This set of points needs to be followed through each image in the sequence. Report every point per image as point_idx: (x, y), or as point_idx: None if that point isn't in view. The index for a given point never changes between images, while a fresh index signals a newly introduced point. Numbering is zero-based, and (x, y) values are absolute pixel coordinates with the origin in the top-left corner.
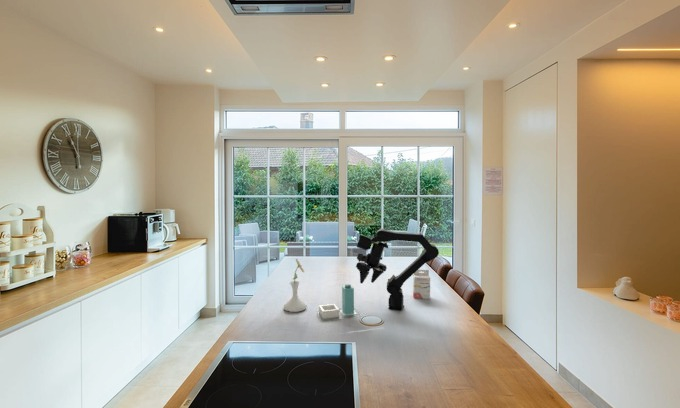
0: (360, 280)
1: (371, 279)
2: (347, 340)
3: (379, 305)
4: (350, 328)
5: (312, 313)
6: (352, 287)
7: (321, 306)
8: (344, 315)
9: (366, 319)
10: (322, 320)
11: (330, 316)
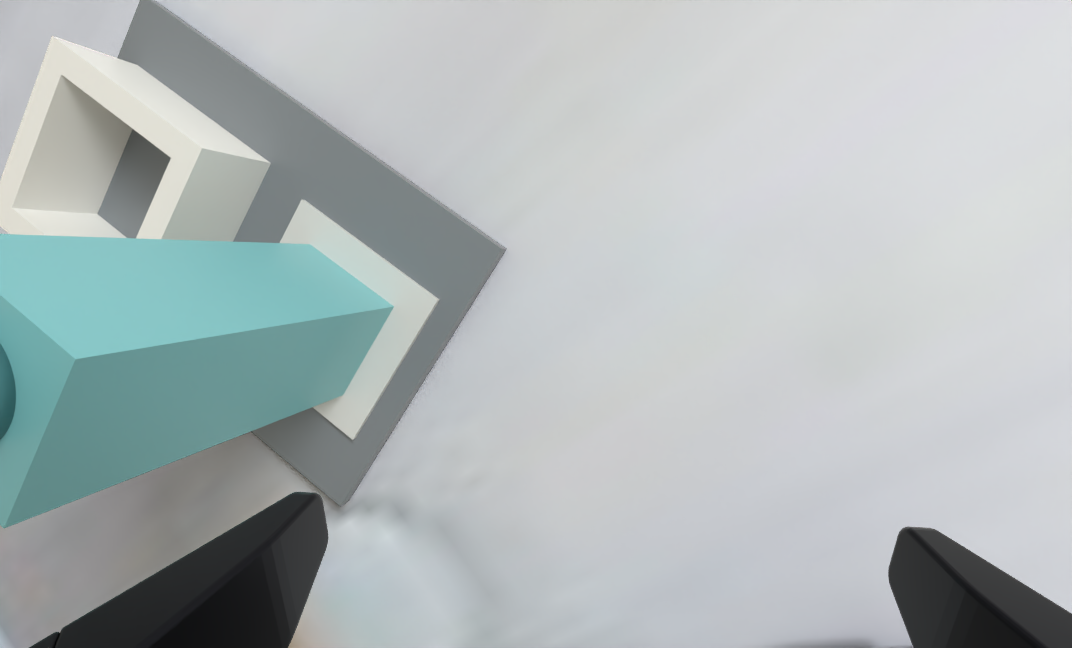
0: (232, 542)
1: (953, 580)
2: (3, 616)
3: (816, 495)
4: (129, 535)
5: (118, 3)
6: (15, 477)
7: (55, 83)
8: None
9: (344, 563)
10: None
11: None
